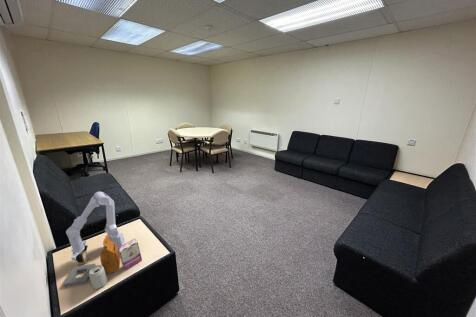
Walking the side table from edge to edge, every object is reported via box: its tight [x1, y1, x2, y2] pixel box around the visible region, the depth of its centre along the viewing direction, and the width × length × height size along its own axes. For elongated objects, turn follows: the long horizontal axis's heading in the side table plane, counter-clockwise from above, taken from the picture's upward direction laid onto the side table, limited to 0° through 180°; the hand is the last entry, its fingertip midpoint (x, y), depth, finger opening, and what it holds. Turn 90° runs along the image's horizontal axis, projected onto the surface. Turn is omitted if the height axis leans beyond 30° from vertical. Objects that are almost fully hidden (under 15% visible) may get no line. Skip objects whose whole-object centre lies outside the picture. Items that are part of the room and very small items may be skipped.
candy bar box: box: [117, 238, 143, 271], centre depth 132 cm, size 11×5×16 cm, turn 137°
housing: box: [63, 263, 96, 288], centre depth 126 cm, size 12×12×2 cm
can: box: [89, 264, 108, 290], centre depth 119 cm, size 8×8×12 cm
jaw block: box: [76, 250, 89, 266], centre depth 135 cm, size 4×4×7 cm
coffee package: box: [99, 235, 121, 275], centre depth 129 cm, size 10×12×22 cm
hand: (82, 259), depth 136 cm, fingers closed on jaw block, 4 cm apart
